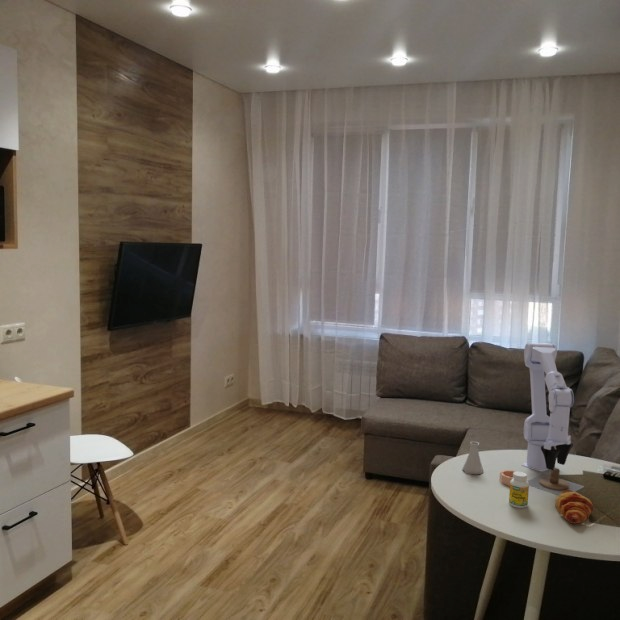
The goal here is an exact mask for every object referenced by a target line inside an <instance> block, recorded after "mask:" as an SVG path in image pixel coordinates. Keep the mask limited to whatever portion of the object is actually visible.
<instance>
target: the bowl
mask: <svg viewBox="0 0 620 620" xmlns="http://www.w3.org/2000/svg"><path fill="white" fill-rule="evenodd" d="M514 472H518V471H517V470H513V469H504V470H501V471H499V482H501V484H503V485H506V486H509V487H510V481H511V480H512V479H513V473H514Z"/></svg>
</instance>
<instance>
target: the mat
mask: <svg viewBox="0 0 620 620" xmlns="http://www.w3.org/2000/svg"><path fill="white" fill-rule="evenodd" d="M544 477H550V474H547V473H542V474H540V475H538V476H535V477H533V478H531V479H530V480H527V481H528V483H529V487H533V488H536V489H538V490H541V491H545V492H547V493H551V494H554V495H557V496H559V495H560V494H561V493H562V492H563V491H565V490H552V489H548V488H546V487H543V486H542V485H540V483H539V480H540V479H541V478H544ZM559 479H561V480H564V481H566V482H567V483H568V484H569V488H568V489H567V490H571V491H574V492H577V491H579V490H581V489H583V488H585V485H581V484H579V483H575V482H573V481H569V480H566V479H563V478H560V477H559Z"/></svg>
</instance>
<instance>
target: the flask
mask: <svg viewBox="0 0 620 620" xmlns="http://www.w3.org/2000/svg"><path fill="white" fill-rule="evenodd" d="M469 446H470V447H469V448H470V449H469V452H468V456H467V458H466V461H465V462H464V464H463V467H462V471H463V470H464V471H465V472H464V471H463V472H464V473H466V474H470V475H483V474H484V468H483V467H484V466H483V465H482V462H481V457H480V453H479V446H480V442H478V441H469Z"/></svg>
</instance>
